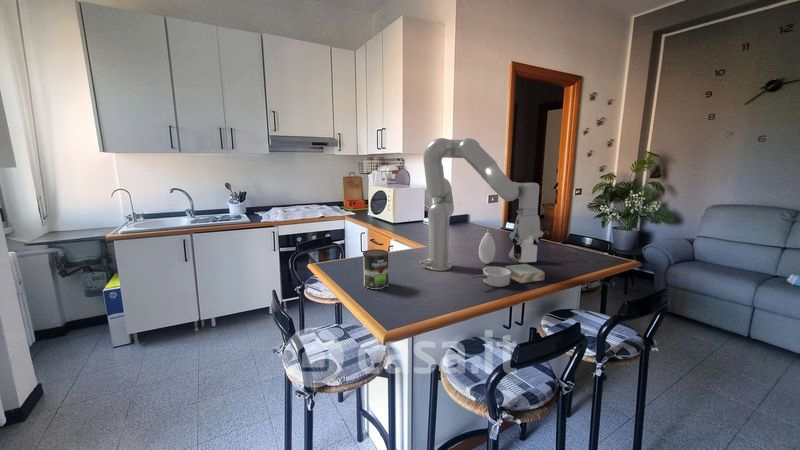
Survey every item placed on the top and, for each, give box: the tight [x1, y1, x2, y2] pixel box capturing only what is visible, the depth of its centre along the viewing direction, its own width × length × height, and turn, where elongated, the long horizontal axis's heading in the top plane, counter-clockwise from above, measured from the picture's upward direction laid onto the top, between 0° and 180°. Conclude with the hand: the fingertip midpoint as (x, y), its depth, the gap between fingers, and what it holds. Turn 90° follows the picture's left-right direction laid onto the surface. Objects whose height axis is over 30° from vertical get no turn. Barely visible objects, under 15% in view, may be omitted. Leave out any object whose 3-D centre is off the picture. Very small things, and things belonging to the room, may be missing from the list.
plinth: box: [503, 263, 546, 284], centre depth 146 cm, size 12×12×4 cm
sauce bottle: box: [478, 230, 496, 265], centre depth 164 cm, size 8×8×18 cm
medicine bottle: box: [514, 236, 538, 263], centre depth 144 cm, size 7×7×12 cm
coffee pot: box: [508, 230, 550, 264], centre depth 169 cm, size 21×12×15 cm, turn 106°
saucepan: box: [469, 266, 511, 288], centre depth 136 cm, size 12×20×6 cm, turn 120°
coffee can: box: [362, 248, 389, 289], centre depth 136 cm, size 10×10×14 cm
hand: (525, 251), depth 144 cm, fingers closed on medicine bottle, 8 cm apart
